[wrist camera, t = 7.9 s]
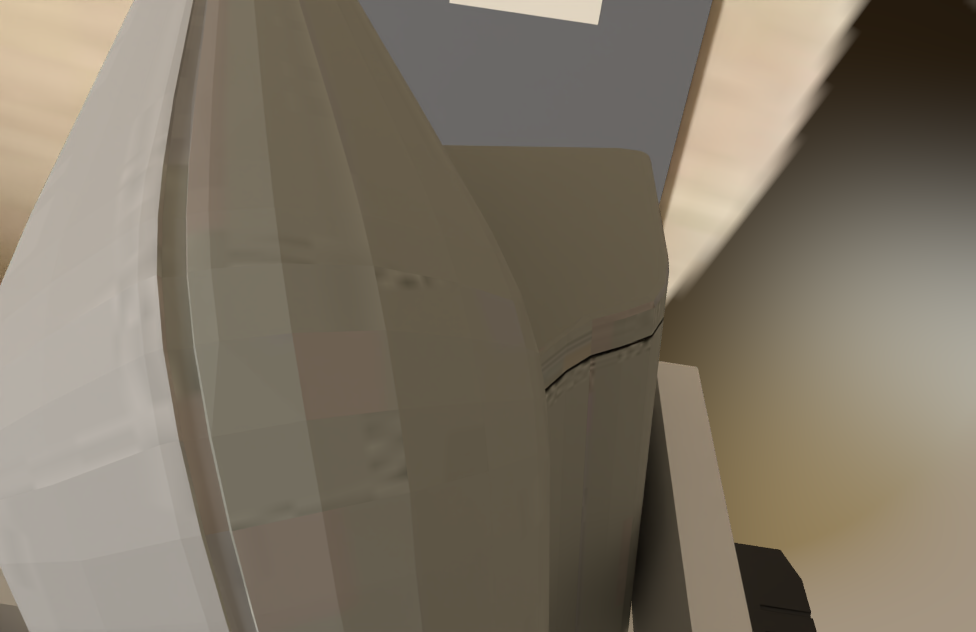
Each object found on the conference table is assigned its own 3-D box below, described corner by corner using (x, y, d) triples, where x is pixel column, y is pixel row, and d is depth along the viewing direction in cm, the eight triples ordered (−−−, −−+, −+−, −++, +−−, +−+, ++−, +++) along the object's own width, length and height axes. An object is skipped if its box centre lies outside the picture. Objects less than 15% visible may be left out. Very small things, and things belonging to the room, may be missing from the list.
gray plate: (622, 339, 34) (622, 343, 34) (340, 296, 34) (339, 300, 34) (759, -189, 24) (762, -189, 23) (353, -248, 24) (350, -248, 24)
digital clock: (191, -163, 11) (-1339, 58, 2) (832, -26, 11) (1739, 677, 2) (208, 584, 20) (-85, 1214, 11) (565, 654, 20) (552, 1331, 11)
